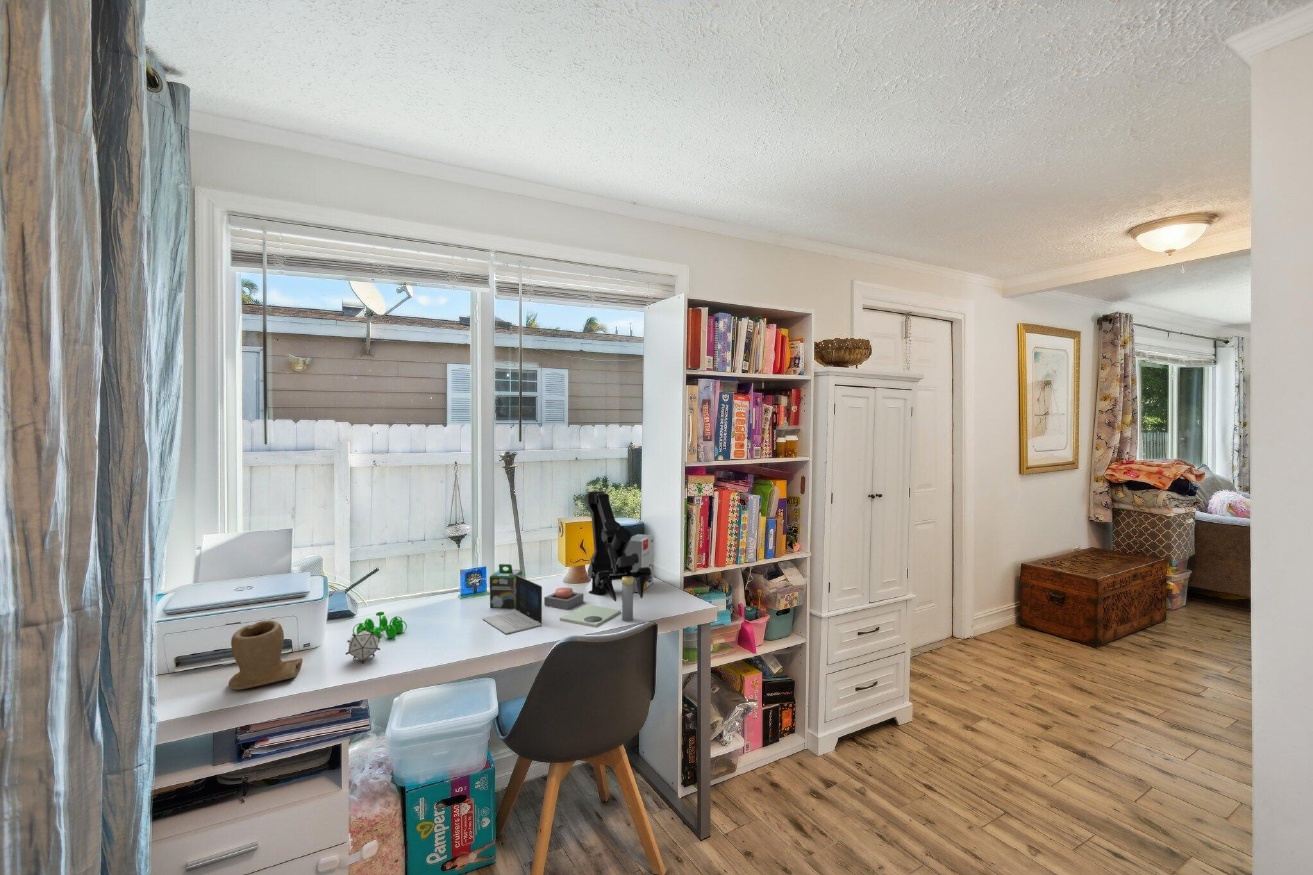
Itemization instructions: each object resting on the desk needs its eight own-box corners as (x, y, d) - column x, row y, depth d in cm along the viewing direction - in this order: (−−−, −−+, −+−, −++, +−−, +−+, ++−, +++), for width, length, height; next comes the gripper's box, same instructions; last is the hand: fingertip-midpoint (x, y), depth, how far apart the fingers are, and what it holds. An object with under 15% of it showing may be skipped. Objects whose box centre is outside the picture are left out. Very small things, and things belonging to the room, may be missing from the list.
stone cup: (225, 700, 131) (224, 636, 131) (231, 680, 141) (230, 620, 141) (302, 684, 139) (301, 624, 139) (302, 667, 149) (302, 610, 149)
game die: (358, 676, 152) (334, 654, 147) (360, 654, 159) (338, 632, 154) (389, 658, 154) (366, 635, 149) (390, 636, 161) (368, 614, 156)
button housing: (560, 597, 210) (560, 589, 210) (583, 601, 206) (583, 593, 206) (544, 605, 201) (544, 597, 201) (567, 609, 197) (567, 601, 197)
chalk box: (523, 600, 207) (523, 560, 206) (514, 608, 197) (514, 566, 197) (498, 600, 208) (498, 560, 207) (488, 608, 198) (488, 566, 198)
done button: (562, 593, 207) (562, 586, 207) (575, 595, 205) (575, 588, 205) (552, 597, 202) (552, 590, 202) (566, 600, 199) (566, 593, 199)
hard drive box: (640, 593, 217) (641, 541, 216) (622, 591, 219) (622, 540, 219) (654, 583, 231) (654, 534, 231) (636, 581, 234) (636, 533, 233)
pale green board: (586, 606, 200) (586, 604, 200) (620, 612, 194) (620, 610, 194) (559, 620, 186) (559, 617, 186) (595, 627, 180) (595, 624, 180)
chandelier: (346, 647, 163) (346, 623, 163) (359, 629, 178) (359, 607, 178) (402, 642, 167) (402, 618, 167) (410, 625, 182) (410, 603, 182)
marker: (625, 616, 190) (625, 575, 190) (635, 618, 188) (635, 576, 188) (619, 620, 186) (619, 578, 186) (629, 622, 185) (630, 579, 184)
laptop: (481, 620, 187) (481, 580, 186) (516, 612, 195) (516, 574, 194) (505, 635, 173) (506, 593, 173) (542, 626, 181) (542, 586, 181)
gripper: (597, 547, 187) (606, 589, 177) (649, 543, 194) (661, 583, 184) (590, 565, 195) (599, 606, 184) (641, 561, 201) (652, 600, 191)
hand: (628, 599), depth 186 cm, fingers open, 9 cm apart
